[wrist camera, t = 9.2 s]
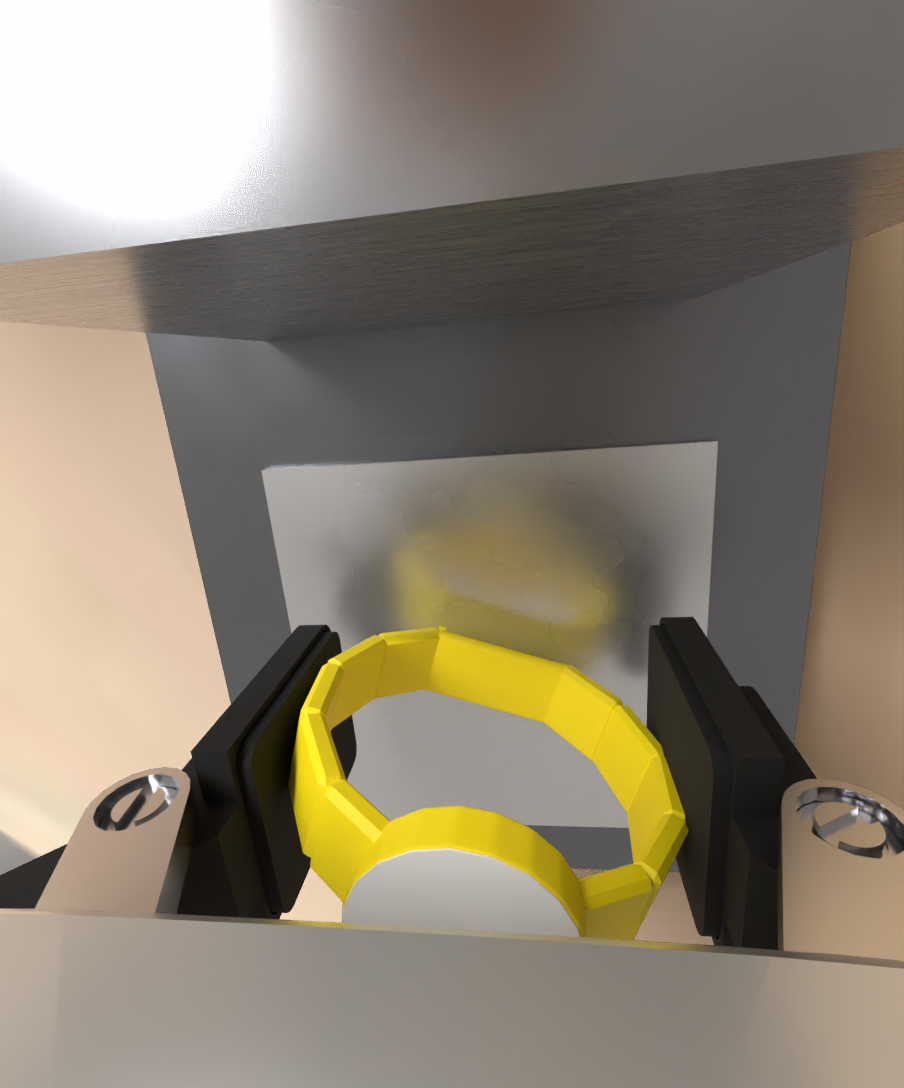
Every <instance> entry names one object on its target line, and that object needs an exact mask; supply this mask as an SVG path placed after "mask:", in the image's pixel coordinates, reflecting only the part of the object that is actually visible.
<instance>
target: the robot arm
mask: <svg viewBox="0 0 904 1088" xmlns="http://www.w3.org/2000/svg"><path fill="white" fill-rule="evenodd" d="M341 653H342V649H341V643H340V637H339V635H338V633H337V632H331V630H330V628H329V626H328V625H299V626H298V627H297V628H296V629H295V630H294V631H293V632H292V634H291V635H290V636H289V637H288V638H287V639H286V641H285V642H284V643H283V644H282V645H281V647H280V648H279V649H278V650H277V651H276V652H275V654H274V655H273V656H272V657H271V658H270V659H269V661H268V662H267V663H266V664H265V665H264V666H263V668H262V669H261V670H260V671H259V672H258V673H257V675H256V676H255V677H254V678H253V679H252V681H251V682H250V683H249V684H248V685H247V686H246V688H245V689H244V690H243V691H242V692H241V693H240V695H239V696H238V697H237V698H236V699H235V700H234V702H233V703H232V704H231V705H230V706H229V707H228V709H227V710H226V711H225V712H224V713H223V715H222V716H221V717H220V718H219V719H218V720H217V722H216V723H215V724H214V725H213V726H212V727H211V729H210V730H209V731H208V732H207V733H206V734H205V736H204V737H203V738H202V739H201V740H200V741H199V743H198V744H197V745H196V746H195V747H194V748H193V750H192V751H191V754H192V759H191V760H190V761H189V762H188V763H187V765H186V766H185V767H184V768H183V769H182V771H181V770H179V769H177V768H167V767H163V768H155V769H149V770H146V771H142V772H139V773H136V774H133V775H131V776H129V777H126V778H124V779H122V780H120V781H118V782H116V783H115V784H113V785H112V786H110V787H109V788H107V789H106V790H104V791H103V792H102V793H101V794H100V795H98V796H97V797H96V798H95V799H94V800H93V801H92V802H91V803H90V805H89V806H88V807H87V809H86V810H85V812H84V813H83V815H82V817H81V819H80V821H79V823H78V825H77V827H76V829H75V831H74V833H73V834H72V836H71V838H70V840H69V842H68V844H66V845H64V846H62V847H60V848H58V849H55V850H53V851H51V852H49V853H47V854H45V855H43V856H40V857H38V858H36V859H34V860H32V861H30V862H28V863H26V864H23V865H21V866H19V867H17V868H15V869H13V870H11V871H8V872H6V873H4V874H2V875H0V1088H904V810H903V809H901V808H900V807H898V806H897V805H895V804H894V803H892V802H891V801H889V800H888V799H887V798H885V797H883V796H881V795H879V794H877V793H875V792H873V791H870V790H868V789H866V788H864V787H861V786H857V785H854V784H851V783H848V782H844V781H838V780H831V779H824V778H823V779H817V778H816V776H815V775H814V774H813V772H812V771H811V769H810V768H809V766H808V765H807V763H806V762H805V760H804V759H803V758H802V756H801V755H800V753H799V752H798V750H797V749H796V747H795V746H794V745H793V743H792V742H791V740H790V739H789V737H788V736H787V734H786V733H785V731H784V730H783V729H782V727H781V726H780V724H779V723H778V721H777V720H776V718H775V717H774V716H773V714H772V713H771V711H770V710H769V708H768V707H767V705H766V704H765V702H764V701H763V700H762V698H761V697H760V695H759V694H758V692H757V691H756V690H755V689H754V688H753V687H751V686H738V685H737V683H736V682H735V680H734V679H733V677H732V676H731V674H730V673H729V671H728V669H727V668H726V666H725V665H724V663H723V662H722V660H721V659H720V657H719V655H718V654H717V652H716V651H715V649H714V648H713V646H712V645H711V643H710V641H709V640H708V638H707V637H706V635H705V634H704V632H703V631H702V629H701V627H700V626H699V624H698V623H697V621H696V620H695V618H694V617H661V619H660V623H659V625H650V627H649V643H648V686H647V729H648V730H649V731H650V732H651V734H652V735H653V736H654V737H655V738H656V740H657V741H658V742H659V743H660V744H661V747H662V749H663V753H664V757H665V758H666V761H667V764H668V767H669V770H670V773H671V776H672V779H673V781H674V784H675V787H676V790H677V793H678V796H679V799H680V802H681V805H682V808H683V810H684V813H685V821H686V826H687V828H688V831H689V832H688V834H687V836H686V838H685V840H684V842H683V844H682V846H681V848H680V849H679V851H678V853H677V855H676V857H675V858H676V861H677V864H678V868H679V871H680V874H681V878H682V881H683V885H684V888H685V891H686V895H687V898H688V901H689V905H690V908H691V912H692V915H693V918H694V922H695V925H696V928H697V931H698V933H699V935H701V936H712V939H713V942H714V945H699V944H683V943H667V942H652V941H636V940H620V939H605V938H589V937H573V936H558V935H542V934H526V933H509V932H492V931H475V930H458V929H441V928H423V927H406V926H388V925H371V924H353V923H335V922H317V921H299V920H279V918H280V916H281V914H282V913H288V912H290V911H291V909H292V908H293V906H294V904H295V902H296V899H297V897H298V894H299V892H300V890H301V887H302V885H303V883H304V880H305V878H306V876H307V873H308V871H309V869H310V862H311V858H310V857H308V856H307V855H305V854H303V851H302V846H301V842H300V837H299V832H298V828H297V823H296V819H295V814H294V809H293V805H292V800H291V796H290V791H289V786H288V783H289V777H290V772H291V762H292V756H293V751H294V745H295V740H296V734H297V728H298V723H299V717H300V712H301V709H302V707H303V705H304V703H305V701H306V698H307V696H308V694H309V692H310V690H311V688H312V686H313V684H314V682H315V680H316V678H317V676H318V674H319V672H320V670H321V667H322V666H323V665H325V664H327V663H328V660H330V659H331V658H333V657H335V656H337V655H339V654H341ZM331 736H332V739H333V742H334V745H335V748H336V751H337V754H338V757H339V760H340V763H341V766H342V769H343V772H344V775H345V778H346V781H347V779H348V777H349V774H350V772H351V770H352V767H353V765H354V762H355V759H356V752H357V744H356V737H355V730H354V724H353V718H352V715H350V716H349V717H348V718H346V719H345V720H343V721H342V722H341V723H339V724H338V725H336V726H335V727H334V728H332V730H331Z"/></svg>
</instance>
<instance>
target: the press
mask: <svg viewBox="0 0 904 1088" xmlns="http://www.w3.org/2000/svg"><path fill="white" fill-rule="evenodd" d="M902 222H904V0H0V321H5V322H18V323H31V324H44V325H57V326H70V327H83V328H96V329H109V330H122V331H135V332H146V336H147V340H148V344H149V349H150V353H151V358H152V362H153V366H154V371H155V375H156V379H157V384H158V388H159V392H160V397H161V401H162V405H163V410H164V414H165V419H166V423H167V427H168V432H169V436H170V440H171V445H172V449H173V453H174V458H175V462H176V466H177V471H178V475H179V479H180V484H181V488H182V493H183V497H184V501H185V506H186V510H187V514H188V519H189V523H190V527H191V532H192V536H193V540H194V545H195V549H196V553H197V558H198V562H199V567H200V571H201V575H202V580H203V584H204V588H205V593H206V597H207V601H208V606H209V610H210V614H211V619H212V623H213V627H214V632H215V636H216V641H217V645H218V649H219V654H220V658H221V662H222V667H223V671H224V675H225V680H226V684H227V688H228V693H229V697H230V701H231V704H232V703H233V702H234V700H235V699H236V698H237V697H238V696H239V695H240V693H241V692H242V691H243V690H244V689H245V688H246V686H247V685H248V684H249V683H250V682H251V681H252V679H253V678H254V677H255V676H256V675H257V673H258V672H259V671H260V670H261V669H262V668H263V666H264V665H265V664H266V663H267V662H268V661H269V659H270V658H271V657H272V656H273V655H274V654H275V652H276V651H277V650H278V649H279V648H280V647H281V645H282V644H283V643H284V642H285V641H286V639H287V638H288V637H289V636H290V635H291V634H292V632H293V631H294V630H295V629H296V628H297V627H298V626H299V625H328V626H329V628H330V630H331V632H337V633H338V635H339V637H340V643H341V649H342V652H344V651H346V650H348V649H350V648H352V647H353V646H355V645H357V644H359V643H361V642H362V641H364V640H366V639H368V638H370V637H372V636H374V635H377V636H379V634H381V633H386V632H395V631H404V630H413V629H423V628H432V627H435V628H436V629H437V630H438V629H439V626H442V627H445V628H447V630H446V632H449V633H453V634H457V635H460V636H464V637H467V638H471V639H475V640H478V641H482V642H486V643H489V644H493V645H497V646H500V647H504V648H507V649H511V650H515V651H518V652H522V653H526V654H529V655H533V656H537V657H540V658H544V659H547V660H551V661H555V662H558V663H562V664H566V665H572V666H573V667H575V668H576V669H577V670H579V671H580V672H582V673H583V674H585V675H586V676H588V677H589V678H591V679H592V680H594V681H595V682H597V683H598V684H599V685H601V686H602V687H604V688H605V689H607V690H608V691H610V692H611V693H613V694H614V695H616V696H617V697H618V698H620V699H621V700H622V702H623V705H628V706H629V707H630V708H631V709H632V711H633V712H634V713H635V714H636V715H637V717H638V718H639V719H640V720H641V722H642V723H643V724H644V725H645V726H646V728H647V686H648V643H649V627H650V625H659V623H660V619H661V617H694V618H695V620H696V621H697V623H698V624H699V626H700V627H701V629H702V631H703V632H704V634H705V635H706V637H707V638H708V640H709V641H710V643H711V645H712V646H713V648H714V649H715V651H716V652H717V654H718V655H719V657H720V659H721V660H722V662H723V663H724V665H725V666H726V668H727V669H728V671H729V673H730V674H731V676H732V677H733V679H734V680H735V682H736V683H737V685H738V686H751V687H753V688H754V689H755V690H756V691H757V692H758V694H759V695H760V697H761V698H762V700H763V701H764V702H765V704H766V705H767V707H768V708H769V710H770V711H771V713H772V714H773V716H774V717H775V718H776V720H777V721H778V723H779V724H780V726H781V727H782V729H783V730H784V731H785V733H786V734H787V736H788V737H789V739H790V740H791V742H792V743H793V745H794V737H795V728H796V720H797V711H798V702H799V693H800V685H801V676H802V667H803V658H804V650H805V641H806V632H807V623H808V615H809V606H810V597H811V588H812V579H813V571H814V562H815V553H816V544H817V536H818V527H819V518H820V509H821V501H822V492H823V483H824V474H825V466H826V457H827V448H828V439H829V430H830V422H831V413H832V404H833V395H834V387H835V378H836V369H837V360H838V352H839V343H840V334H841V325H842V317H843V308H844V299H845V290H846V281H847V273H848V264H849V255H850V246H851V241H853V240H855V239H858V238H861V237H864V236H866V235H869V234H872V233H874V232H877V231H880V230H883V229H885V228H888V227H891V226H893V225H896V224H899V223H902ZM352 718H353V724H354V730H355V737H356V744H357V752H356V759H355V762H354V765H353V767H352V770H351V772H350V774H349V777H348V779H347V782H349V783H350V784H351V785H352V786H353V787H354V788H355V789H356V790H357V791H358V792H359V793H361V794H362V795H363V796H364V797H365V798H366V799H367V800H368V801H369V802H370V803H372V804H373V805H374V806H375V807H376V808H377V809H378V810H379V811H380V812H381V813H382V814H384V815H385V816H386V817H387V818H388V819H389V820H390V821H392V820H394V819H396V818H399V817H401V816H404V815H406V814H409V813H412V812H414V811H417V810H420V809H423V808H429V807H443V806H466V807H471V808H476V809H482V810H487V811H492V812H496V813H499V814H502V815H504V816H506V817H508V818H510V819H512V820H515V821H517V822H519V823H521V824H523V825H525V826H527V827H529V828H531V829H533V830H534V831H535V832H537V833H538V834H539V835H540V836H541V837H543V838H544V839H545V840H546V841H547V842H548V843H550V844H551V845H552V846H553V847H554V848H556V849H557V850H558V851H559V852H560V853H561V854H562V856H563V857H564V859H565V860H566V862H567V863H568V865H569V866H570V868H582V869H608V870H611V869H615V868H618V867H622V866H626V865H629V864H633V855H632V848H631V840H630V832H629V825H628V817H627V812H626V811H625V809H624V808H623V806H622V805H621V803H620V801H619V800H618V798H617V797H616V795H615V794H614V792H613V791H612V789H611V788H610V786H609V785H608V783H607V782H606V780H605V779H604V777H603V776H602V774H601V773H600V771H599V770H598V768H597V767H596V765H595V763H594V762H593V761H591V760H590V759H589V758H588V757H586V756H585V755H584V754H583V753H581V752H580V751H579V750H577V749H576V748H575V747H574V746H572V745H571V744H570V743H569V742H567V741H566V740H565V739H564V738H562V737H561V736H560V735H559V734H557V733H556V732H555V731H554V730H552V729H551V728H550V727H549V726H547V725H546V724H545V723H543V722H540V721H536V720H532V719H529V718H525V717H522V716H518V715H514V714H511V713H507V712H504V711H500V710H496V709H493V708H489V707H486V706H482V705H479V704H475V703H471V702H468V701H464V700H461V699H457V698H453V697H450V696H446V695H443V694H439V693H435V692H432V691H428V690H419V691H414V692H408V693H403V694H398V695H392V696H387V697H381V698H376V699H373V700H372V701H370V702H369V703H367V704H366V705H365V706H363V707H362V708H360V709H359V710H358V711H356V712H355V713H353V714H352ZM668 872H680V871H679V868H678V864H677V861H676V858H675V859H674V861H673V863H672V865H671V867H670V869H669V871H668Z"/></svg>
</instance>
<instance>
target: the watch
mask: <svg viewBox="0 0 904 1088" xmlns="http://www.w3.org/2000/svg"><path fill="white" fill-rule="evenodd" d="M446 630H447V628H445V627H442V626H439V629H438V630H437V629H436V628H435V627H432V628H423V629H413V630H404V631H395V632H386V633H381V634H379V636H377V635H374V636H372V637H370V638H368V639H366V640H364V641H362V642H361V643H359V644H357V645H355V646H353V647H352V648H350V649H348V650H346V651H344V652H342V653H341V654H339V655H337V656H335V657H333V658H331V659H330V660H328V663H327V664H325V665H323V666H322V667H321V670H320V672H319V674H318V676H317V678H316V680H315V682H314V684H313V686H312V688H311V690H310V692H309V694H308V696H307V698H306V701H305V703H304V705H303V707H302V709H301V712H300V717H299V723H298V728H297V734H296V740H295V745H294V751H293V756H292V762H291V772H290V777H289V783H288V786H289V791H290V796H291V800H292V805H293V809H294V814H295V819H296V823H297V828H298V832H299V837H300V842H301V846H302V851H303V854H305V855H307V856H308V857H310V858H311V862H310V867H311V868H312V869H313V870H314V871H315V872H316V873H317V874H318V876H319V877H320V878H321V879H322V880H323V881H324V882H325V883H326V884H327V885H328V886H329V888H330V889H331V890H332V891H333V892H334V893H335V894H336V895H337V896H338V897H339V898H340V900H341V901H342V902H343V906H342V923H353V924H371V925H388V926H406V927H423V928H441V929H458V930H475V931H492V932H509V933H526V934H542V935H558V936H573V937H589V938H605V939H620V940H633V939H634V937H635V935H636V933H637V931H638V930H639V928H640V926H641V924H642V922H643V920H644V918H645V916H646V914H647V912H648V910H649V908H650V906H651V904H652V903H653V901H654V899H655V897H656V895H657V893H658V891H659V889H660V887H661V885H662V883H663V881H664V879H665V877H666V875H667V873H668V871H669V869H670V867H671V865H672V863H673V861H674V859H675V857H676V855H677V853H678V851H679V849H680V848H681V846H682V844H683V842H684V840H685V838H686V836H687V834H688V832H689V831H688V828H687V826H686V821H685V813H684V810H683V808H682V805H681V802H680V799H679V796H678V793H677V790H676V787H675V784H674V781H673V779H672V776H671V773H670V770H669V767H668V764H667V761H666V758H665V757H664V753H663V749H662V747H661V744H660V743H659V742H658V741H657V740H656V738H655V737H654V736H653V735H652V734H651V732H650V731H649V730H648V729H647V728H646V726H645V725H644V724H643V723H642V722H641V720H640V719H639V718H638V717H637V715H636V714H635V713H634V712H633V711H632V709H631V708H630V707H629V706H628V705H623V702H622V700H621V699H620V698H618V697H617V696H616V695H614V694H613V693H611V692H610V691H608V690H607V689H605V688H604V687H602V686H601V685H599V684H598V683H597V682H595V681H594V680H592V679H591V678H589V677H588V676H586V675H585V674H583V673H582V672H580V671H579V670H577V669H576V668H575V667H573V666H572V665H566V664H562V663H558V662H555V661H551V660H547V659H544V658H540V657H537V656H533V655H529V654H526V653H522V652H518V651H515V650H511V649H507V648H504V647H500V646H497V645H493V644H489V643H486V642H482V641H478V640H475V639H471V638H467V637H464V636H460V635H457V634H453V633H449V632H446ZM419 690H428V691H432V692H435V693H439V694H443V695H446V696H450V697H453V698H457V699H461V700H464V701H468V702H471V703H475V704H479V705H482V706H486V707H489V708H493V709H496V710H500V711H504V712H507V713H511V714H514V715H518V716H522V717H525V718H529V719H532V720H536V721H540V722H543V723H545V724H546V725H547V726H549V727H550V728H551V729H552V730H554V731H555V732H556V733H557V734H559V735H560V736H561V737H562V738H564V739H565V740H566V741H567V742H569V743H570V744H571V745H572V746H574V747H575V748H576V749H577V750H579V751H580V752H581V753H583V754H584V755H585V756H586V757H588V758H589V759H590V760H591V761H593V762H594V763H595V765H596V767H597V768H598V770H599V771H600V773H601V774H602V776H603V777H604V779H605V780H606V782H607V783H608V785H609V786H610V788H611V789H612V791H613V792H614V794H615V795H616V797H617V798H618V800H619V801H620V803H621V805H622V806H623V808H624V809H625V811H626V812H627V817H628V825H629V832H630V840H631V848H632V855H633V864H629V865H626V866H622V867H618V868H615V869H611V870H607V871H604V872H600V873H596V874H593V875H589V876H586V877H582V878H578V879H577V877H576V876H575V874H574V873H573V871H572V869H571V868H570V866H569V865H568V863H567V862H566V860H565V859H564V857H563V856H562V854H561V853H560V852H559V851H558V850H557V849H556V848H554V847H553V846H552V845H551V844H550V843H548V842H547V841H546V840H545V839H544V838H543V837H541V836H540V835H539V834H538V833H537V832H535V831H534V830H533V829H531V828H529V827H527V826H525V825H523V824H521V823H519V822H517V821H515V820H512V819H510V818H508V817H506V816H504V815H502V814H499V813H496V812H492V811H487V810H482V809H476V808H471V807H466V806H443V807H429V808H423V809H420V810H417V811H414V812H412V813H409V814H406V815H404V816H401V817H399V818H396V819H394V820H392V821H390V820H389V819H388V818H387V817H386V816H385V815H384V814H382V813H381V812H380V811H379V810H378V809H377V808H376V807H375V806H374V805H373V804H372V803H370V802H369V801H368V800H367V799H366V798H365V797H364V796H363V795H362V794H361V793H359V792H358V791H357V790H356V789H355V788H354V787H353V786H352V785H351V784H350V783H349V782H347V781H346V778H345V775H344V772H343V769H342V766H341V763H340V760H339V757H338V754H337V751H336V748H335V745H334V742H333V739H332V736H331V730H332V728H334V727H335V726H336V725H338V724H339V723H341V722H342V721H343V720H345V719H346V718H348V717H349V716H350V715H352V714H353V713H355V712H356V711H358V710H359V709H360V708H362V707H363V706H365V705H366V704H367V703H369V702H370V701H372V700H373V699H376V698H381V697H387V696H392V695H398V694H403V693H408V692H414V691H419Z"/></svg>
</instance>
